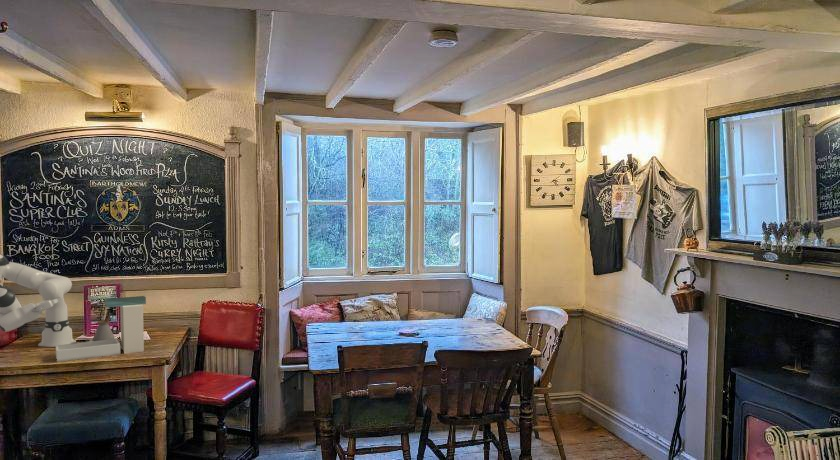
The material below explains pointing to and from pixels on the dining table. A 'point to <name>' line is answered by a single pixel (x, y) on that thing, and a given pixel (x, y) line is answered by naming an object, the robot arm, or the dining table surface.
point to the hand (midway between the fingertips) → (60, 298)
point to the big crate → (87, 350)
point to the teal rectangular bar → (125, 301)
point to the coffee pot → (103, 330)
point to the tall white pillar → (132, 328)
